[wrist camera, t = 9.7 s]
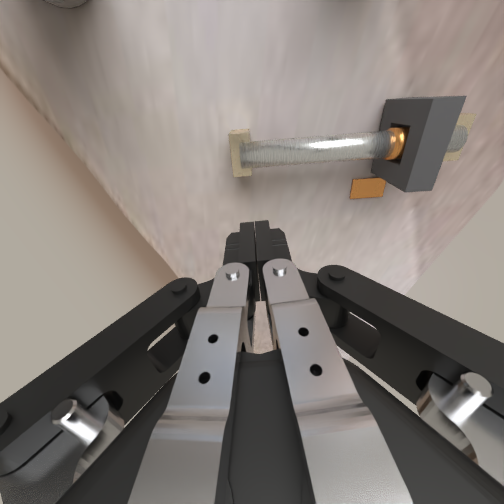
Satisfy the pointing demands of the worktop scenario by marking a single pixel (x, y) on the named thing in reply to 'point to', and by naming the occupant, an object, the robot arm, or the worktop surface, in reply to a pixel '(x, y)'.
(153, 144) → the worktop surface
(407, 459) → the robot arm
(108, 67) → the worktop surface
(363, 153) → the pipe
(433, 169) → the collar
